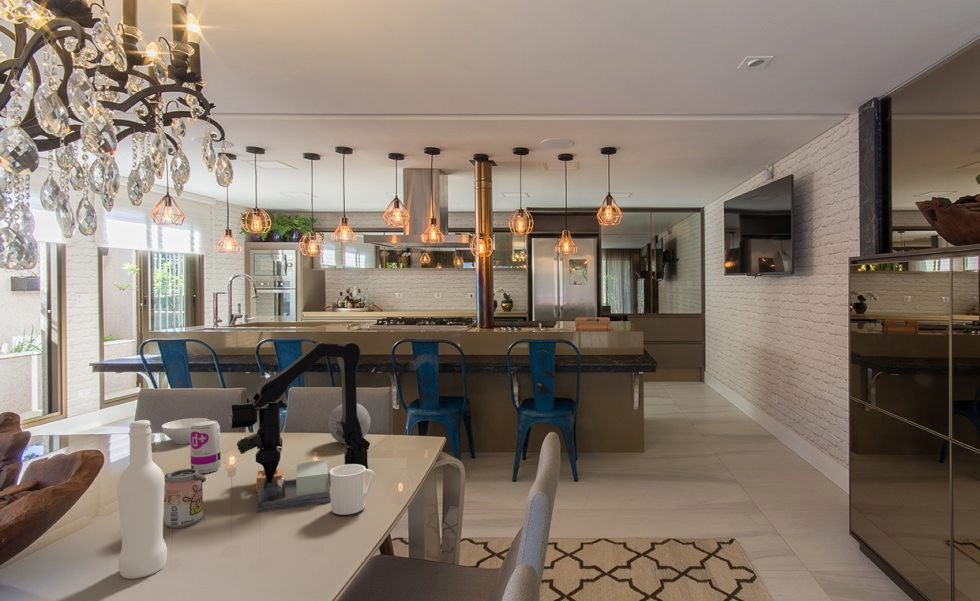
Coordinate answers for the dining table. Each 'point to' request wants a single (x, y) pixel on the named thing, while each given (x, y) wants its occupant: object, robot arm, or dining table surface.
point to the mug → (349, 489)
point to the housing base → (286, 495)
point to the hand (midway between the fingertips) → (270, 478)
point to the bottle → (141, 508)
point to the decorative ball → (337, 415)
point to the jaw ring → (262, 475)
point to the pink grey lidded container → (183, 498)
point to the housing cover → (312, 478)
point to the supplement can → (205, 446)
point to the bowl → (180, 429)
